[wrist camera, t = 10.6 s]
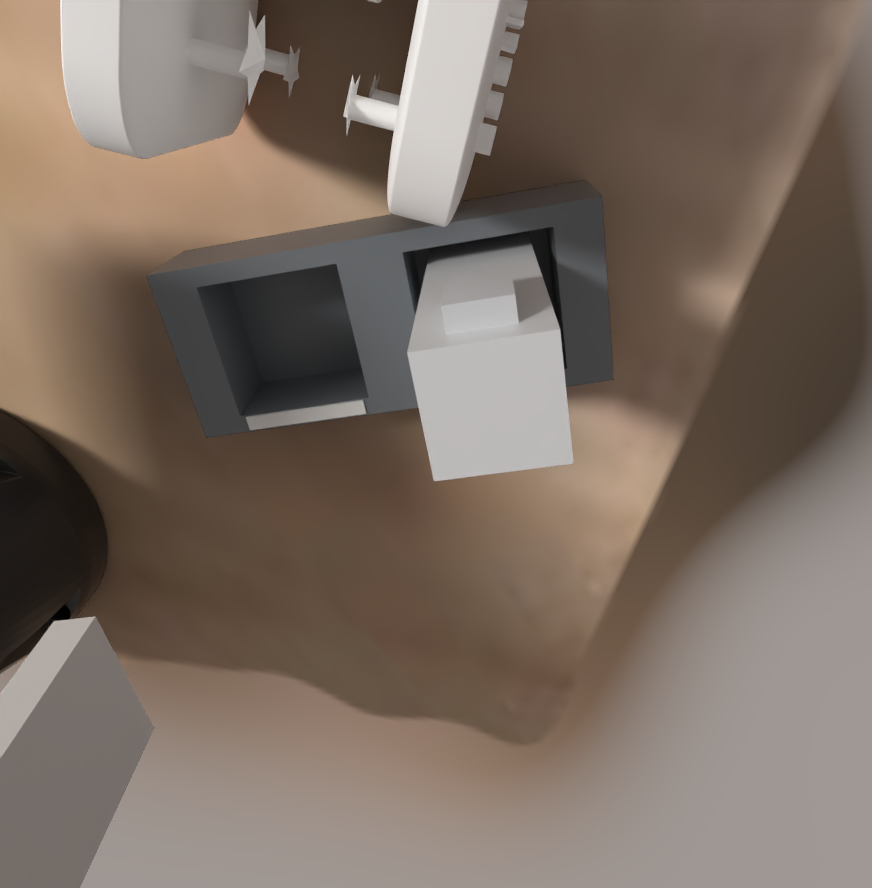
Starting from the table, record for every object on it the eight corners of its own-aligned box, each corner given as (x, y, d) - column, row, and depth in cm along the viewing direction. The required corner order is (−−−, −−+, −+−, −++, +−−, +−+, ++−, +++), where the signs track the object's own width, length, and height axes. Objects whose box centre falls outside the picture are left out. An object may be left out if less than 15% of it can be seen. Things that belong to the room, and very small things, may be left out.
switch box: (234, 398, 33) (205, 438, 30) (184, 251, 30) (145, 276, 26) (597, 344, 31) (614, 380, 28) (585, 179, 28) (602, 196, 24)
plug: (446, 339, 31) (433, 481, 20) (427, 228, 29) (401, 323, 18) (537, 325, 30) (573, 463, 20) (525, 211, 28) (557, 299, 18)
